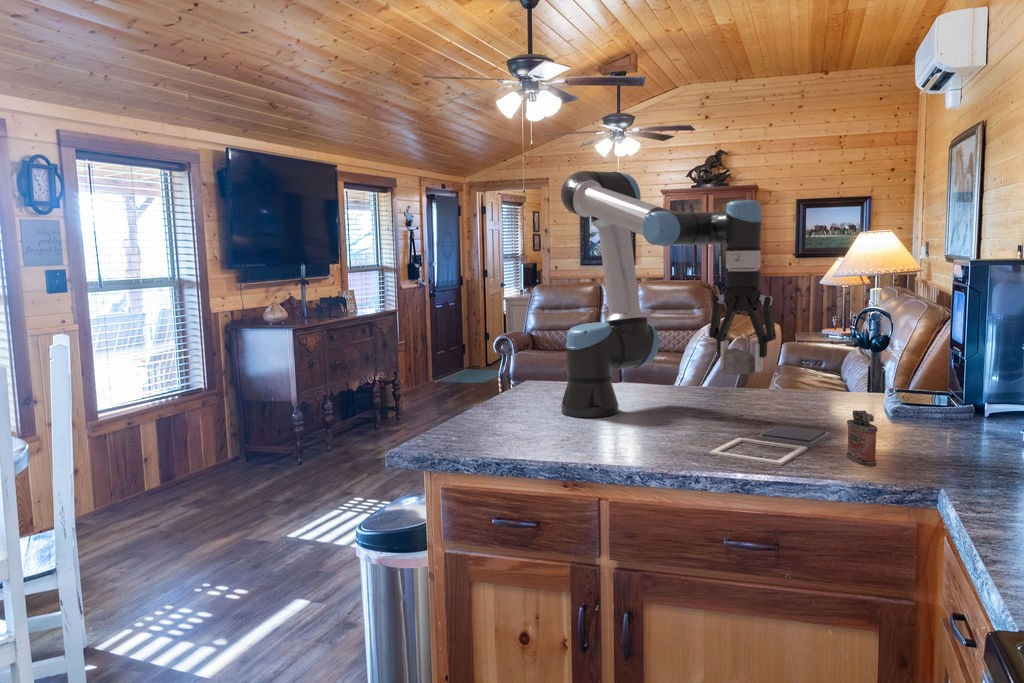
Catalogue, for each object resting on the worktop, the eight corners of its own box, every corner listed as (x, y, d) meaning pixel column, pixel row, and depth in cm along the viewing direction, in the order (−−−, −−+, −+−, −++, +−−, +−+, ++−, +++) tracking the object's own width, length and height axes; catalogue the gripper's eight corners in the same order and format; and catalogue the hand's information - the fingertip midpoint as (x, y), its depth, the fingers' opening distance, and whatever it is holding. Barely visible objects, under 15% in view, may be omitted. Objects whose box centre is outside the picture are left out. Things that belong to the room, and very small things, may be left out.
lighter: (842, 456, 154) (843, 407, 153) (858, 455, 154) (859, 406, 153) (863, 467, 146) (865, 415, 145) (880, 466, 146) (882, 415, 145)
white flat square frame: (709, 454, 158) (708, 451, 158) (738, 439, 169) (738, 437, 169) (781, 465, 148) (781, 462, 148) (807, 449, 160) (807, 446, 160)
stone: (746, 378, 169) (746, 352, 168) (713, 374, 174) (713, 349, 174) (766, 372, 176) (767, 347, 175) (734, 369, 181) (734, 344, 181)
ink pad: (756, 440, 168) (756, 434, 168) (776, 430, 177) (777, 424, 177) (812, 448, 161) (812, 441, 160) (830, 436, 170) (830, 430, 170)
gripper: (693, 270, 176) (692, 368, 179) (781, 270, 163) (779, 376, 166) (708, 269, 182) (707, 364, 185) (794, 269, 169) (791, 371, 172)
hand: (741, 370), depth 175 cm, fingers closed on stone, 7 cm apart
